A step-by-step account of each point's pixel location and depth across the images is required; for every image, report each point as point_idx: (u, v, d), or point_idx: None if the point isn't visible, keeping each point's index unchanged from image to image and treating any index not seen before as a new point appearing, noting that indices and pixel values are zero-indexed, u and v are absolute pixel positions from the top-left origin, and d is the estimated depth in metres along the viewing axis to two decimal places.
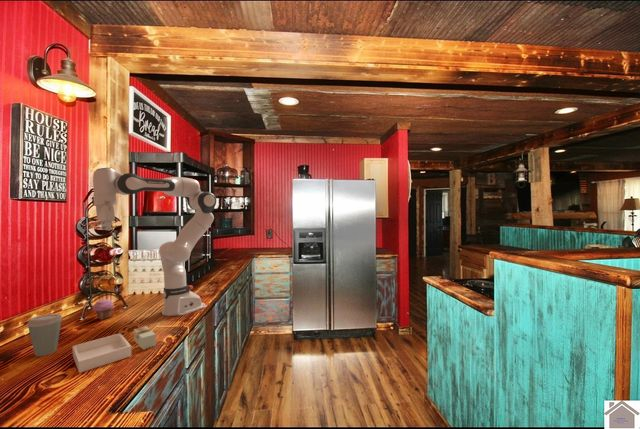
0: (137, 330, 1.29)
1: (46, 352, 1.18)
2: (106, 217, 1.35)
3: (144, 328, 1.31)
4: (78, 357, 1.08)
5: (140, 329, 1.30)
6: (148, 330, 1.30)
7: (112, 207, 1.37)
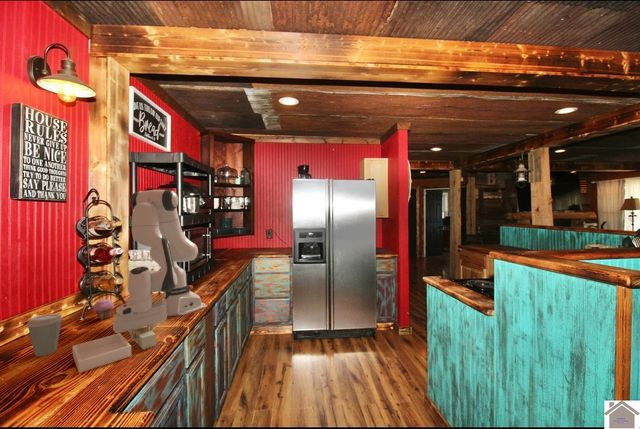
0: (137, 330, 1.29)
1: (46, 352, 1.18)
2: (166, 316, 1.36)
3: (144, 328, 1.31)
4: (78, 357, 1.08)
5: (140, 329, 1.30)
6: (148, 330, 1.30)
7: None
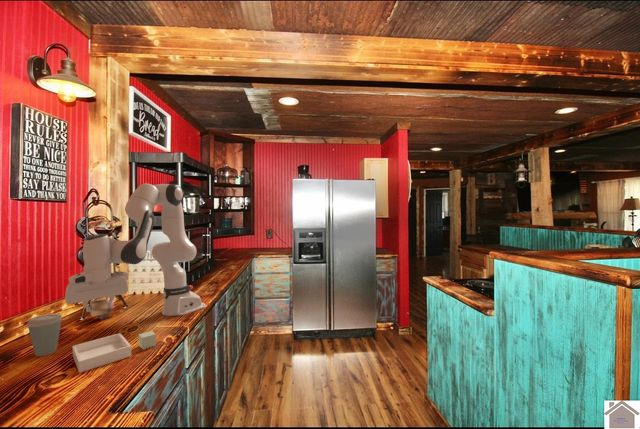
0: (93, 302, 1.18)
1: (46, 352, 1.18)
2: (127, 289, 1.25)
3: (102, 300, 1.20)
4: (78, 357, 1.08)
5: (97, 301, 1.19)
6: (106, 302, 1.19)
7: None
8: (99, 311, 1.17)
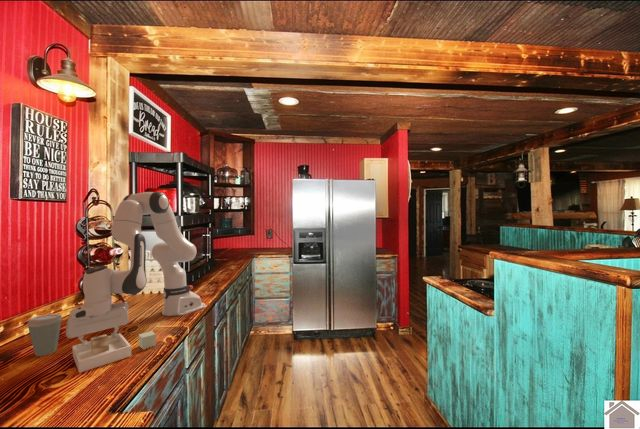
0: (94, 339, 1.18)
1: (46, 352, 1.18)
2: (128, 319, 1.25)
3: (102, 337, 1.20)
4: (78, 357, 1.08)
5: (98, 338, 1.19)
6: (106, 339, 1.19)
7: None
8: (100, 348, 1.17)
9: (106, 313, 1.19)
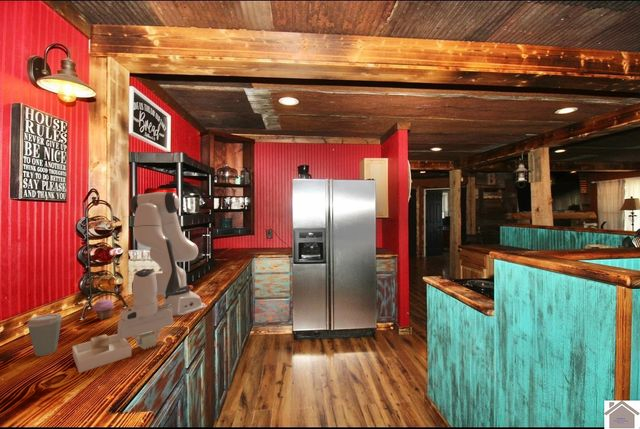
0: (94, 339, 1.18)
1: (46, 352, 1.18)
2: (172, 321, 1.30)
3: (102, 337, 1.20)
4: (78, 357, 1.08)
5: (98, 338, 1.19)
6: (106, 339, 1.19)
7: None
8: (100, 348, 1.17)
9: (154, 314, 1.24)
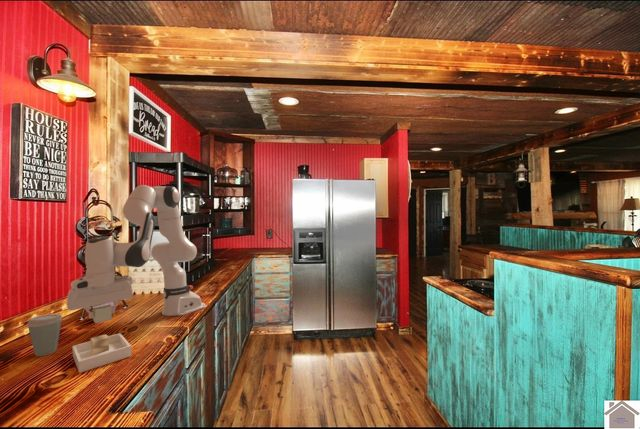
0: (94, 339, 1.18)
1: (46, 352, 1.18)
2: (132, 294, 1.19)
3: (102, 337, 1.20)
4: (78, 357, 1.08)
5: (98, 338, 1.19)
6: (106, 339, 1.19)
7: None
8: (100, 348, 1.17)
9: (109, 285, 1.13)
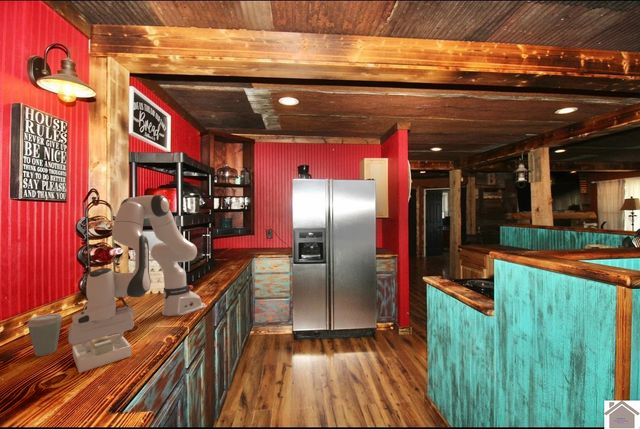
0: (94, 339, 1.18)
1: (46, 352, 1.18)
2: (133, 324, 1.20)
3: (102, 337, 1.20)
4: (78, 357, 1.08)
5: (98, 338, 1.19)
6: (106, 339, 1.19)
7: None
8: None
9: (110, 318, 1.14)
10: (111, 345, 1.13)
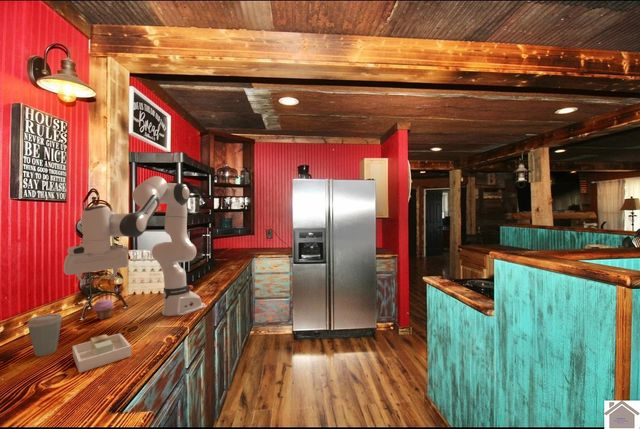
0: (94, 339, 1.18)
1: (46, 352, 1.18)
2: (127, 263, 1.22)
3: (102, 337, 1.20)
4: (78, 357, 1.08)
5: (98, 338, 1.19)
6: (106, 339, 1.19)
7: None
8: None
9: (105, 253, 1.16)
10: (111, 345, 1.13)
